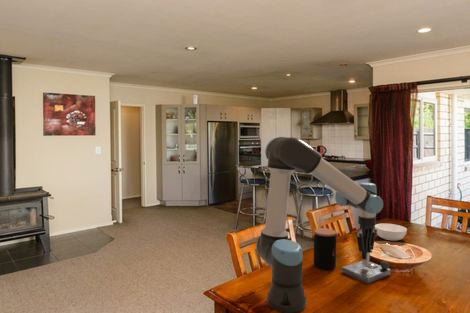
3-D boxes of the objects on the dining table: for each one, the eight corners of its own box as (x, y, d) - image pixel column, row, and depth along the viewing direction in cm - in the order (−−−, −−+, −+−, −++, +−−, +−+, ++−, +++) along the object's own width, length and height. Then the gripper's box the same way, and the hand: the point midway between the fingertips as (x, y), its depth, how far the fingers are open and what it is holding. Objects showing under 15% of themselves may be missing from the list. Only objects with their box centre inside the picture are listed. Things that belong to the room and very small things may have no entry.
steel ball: (372, 272, 154) (374, 265, 154) (366, 269, 157) (367, 262, 157) (376, 273, 156) (378, 266, 156) (370, 270, 159) (371, 263, 159)
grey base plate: (367, 283, 144) (367, 278, 144) (341, 272, 156) (342, 267, 155) (390, 274, 153) (390, 269, 153) (364, 264, 165) (364, 259, 164)
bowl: (377, 232, 218) (378, 221, 217) (408, 237, 207) (409, 226, 207) (371, 239, 203) (371, 228, 203) (403, 245, 192) (404, 233, 192)
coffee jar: (336, 272, 156) (337, 235, 154) (313, 270, 158) (314, 233, 157) (334, 263, 166) (335, 228, 165) (313, 261, 168) (313, 227, 167)
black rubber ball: (385, 271, 151) (386, 263, 151) (378, 268, 154) (378, 260, 154) (390, 269, 153) (391, 261, 153) (383, 266, 156) (383, 258, 156)
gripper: (365, 220, 145) (363, 271, 147) (382, 216, 152) (381, 265, 154) (351, 216, 152) (349, 265, 153) (368, 212, 158) (367, 259, 160)
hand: (365, 265), depth 154 cm, fingers closed
